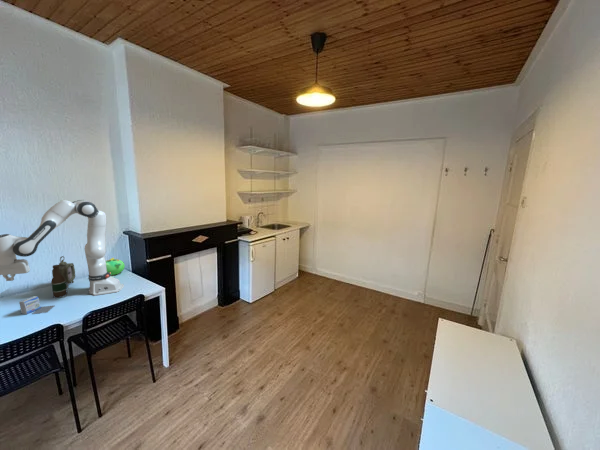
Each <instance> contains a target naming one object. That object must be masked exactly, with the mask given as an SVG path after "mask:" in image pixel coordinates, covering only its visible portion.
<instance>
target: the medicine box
mask: <svg viewBox="0 0 600 450" xmlns="http://www.w3.org/2000/svg"><path fill="white" fill-rule="evenodd" d="M18 304H19V306H20V311H21V312H20V313H21V314H23V315H29V314H32V313H33V312H35V311H36V310H38V309H40V308H41V307H42V306H41V303H40V299H39V297H38V296H36V295H35V296H30V297H27V298H25V299H23V300H20V301H18Z"/></svg>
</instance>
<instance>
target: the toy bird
mask: <svg viewBox="0 0 600 450" xmlns="http://www.w3.org/2000/svg"><path fill="white" fill-rule="evenodd" d="M105 261H106V268H107V272H108V273H110V272H111V274H110V276H115V275H118V274H120V273H122V272H123V271H124V270H125V266H126V265H125V262H123V260H121V259H119V258H115V257H111V258H110V259H107V260H105Z"/></svg>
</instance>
